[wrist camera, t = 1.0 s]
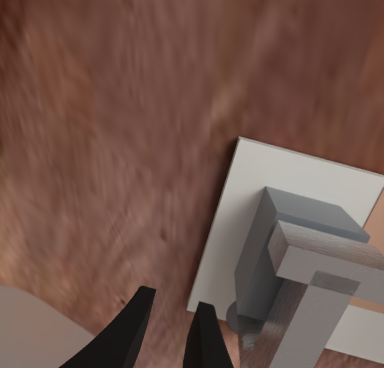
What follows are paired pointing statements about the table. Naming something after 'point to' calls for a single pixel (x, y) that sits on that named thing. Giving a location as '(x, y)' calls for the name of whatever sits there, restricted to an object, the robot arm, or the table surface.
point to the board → (305, 186)
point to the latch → (308, 296)
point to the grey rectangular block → (260, 237)
